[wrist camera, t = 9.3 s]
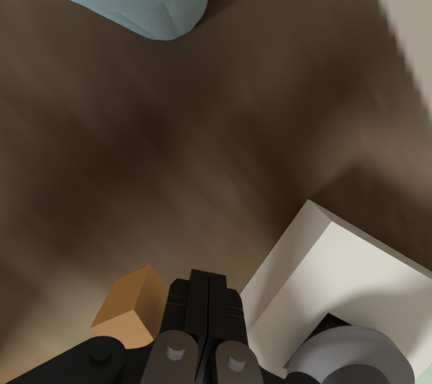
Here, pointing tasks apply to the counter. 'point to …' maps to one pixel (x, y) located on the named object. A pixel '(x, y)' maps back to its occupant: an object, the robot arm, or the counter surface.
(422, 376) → the pad
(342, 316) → the socket block
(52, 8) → the counter surface
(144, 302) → the tan piece
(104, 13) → the cup
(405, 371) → the plug
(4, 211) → the counter surface
